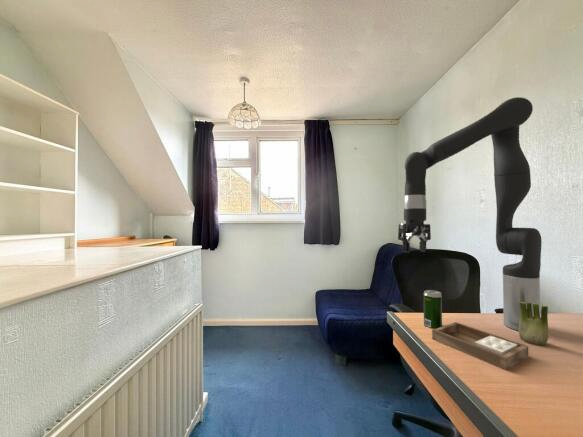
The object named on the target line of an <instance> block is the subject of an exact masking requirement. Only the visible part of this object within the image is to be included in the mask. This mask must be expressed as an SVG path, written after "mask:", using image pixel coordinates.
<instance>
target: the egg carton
mask: <svg viewBox="0 0 583 437" xmlns="http://www.w3.org/2000/svg"><path fill="white" fill-rule="evenodd" d="M475 345H477V346H479V347H482V348H484V349H487V350H490V351H492V352H495V353H497V354H500V355H504V354H506V353H508V352H510V351H512V350H514V349H516V348H517V344H514V343H511V342H508V341H505V340H503V339H500V338H497V337H494V336H491V335H490V336H488V337H486V338H483V339H481V340H479V341H476V342H475Z"/></svg>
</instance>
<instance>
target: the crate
mask: <svg viewBox="0 0 583 437" xmlns="http://www.w3.org/2000/svg"><path fill="white" fill-rule="evenodd" d="M431 331H432V333H431V334H432V335H431V336H432V337H431V338H432V341H434V342H435V341H436V342H438V343H440V344H442V345H445V346H447V347H450V348H451V349H454V350H457V351H458V352H461V353H464V354H466V355H469V356H471V357H473V358H476V359H478V360H480V361H482V362H485V363H488V364H490V365H492V366H494V367H497V368H499V369H501V370H504V371H507V370H509V369H510V368H512V367H514V366H515V365H518V364H519V363H521V362H522V361H524V360H526V359H528V358H529V357H530V356H529V346H528V345H526V344H523V343H519V342H517V341H513V340H511V339H508V338H504V337H502V336H499V335H496V334H493V333H489V332H487V331H483V330H480V329H478V328H475V327H471V326H468V325H467V324H466V325H465V324H462V323H459V322H456V321H455V322H453V323H449V324H447V325H442V327H440V328H437V329H432V330H431ZM490 335H491V336H494V337H497V338H500V339H503V340H505V341H508V342H511V343H514V344H517V348H516V349H514V350H512V351H510V352H508V353H506V354H504V355H500V354H497V353H495V352H492V351H490V350H487V349H484V348H482V347H479V346H477V345H475V342H476V341H479V340H481V339H483V338H486V337H488V336H490Z"/></svg>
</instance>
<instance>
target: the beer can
mask: <svg viewBox="0 0 583 437" xmlns="http://www.w3.org/2000/svg"><path fill="white" fill-rule="evenodd" d="M423 326H424V327H425V328H429V329H432V330H434V329H437V328H440V327H443V296H442V292H441V291H438V290H434V289H433V290H432V289H427V290H424V291H423Z"/></svg>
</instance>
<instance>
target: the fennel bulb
mask: <svg viewBox="0 0 583 437" xmlns="http://www.w3.org/2000/svg"><path fill="white" fill-rule="evenodd" d="M548 308H549V307H548V306H547V305H541V307H540V313H539V304H533V311H534V317H533V316H532V305H531V303H528V302H527V309H526V303H525V302H520V310H521V317H520V322H519V330H518V336H519V338H520V340H521V341H523V342H524V343H527V344H530V345H532V346H538V347H540V346H541V347H542V346H546V345H547V343H548V340H549V333H550V330H549V322H548V318H549V317H548V315H549V314H548V312H549V311H548V310H549V309H548Z"/></svg>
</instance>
